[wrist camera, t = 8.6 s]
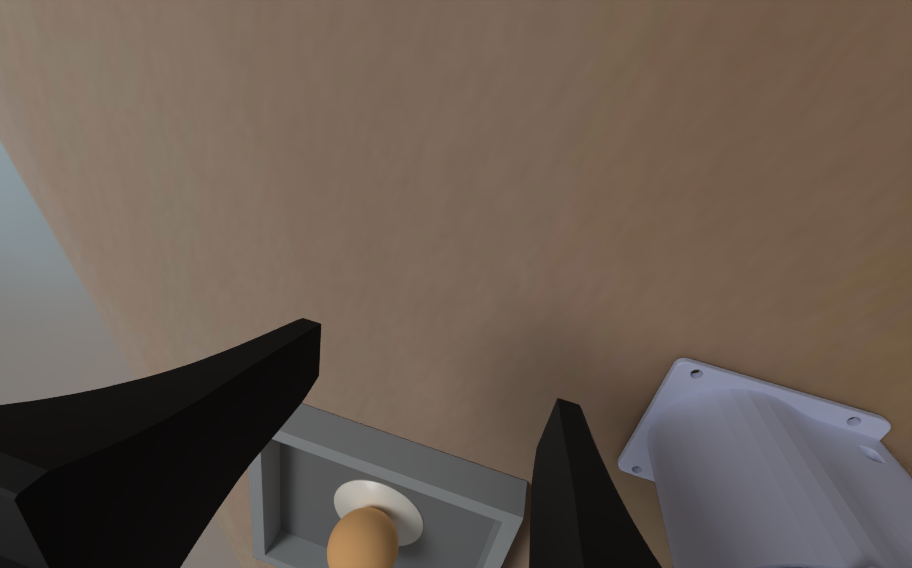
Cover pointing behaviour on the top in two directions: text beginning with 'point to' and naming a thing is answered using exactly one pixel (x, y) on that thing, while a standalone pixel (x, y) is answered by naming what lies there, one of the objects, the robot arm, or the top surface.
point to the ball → (363, 540)
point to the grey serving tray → (377, 496)
